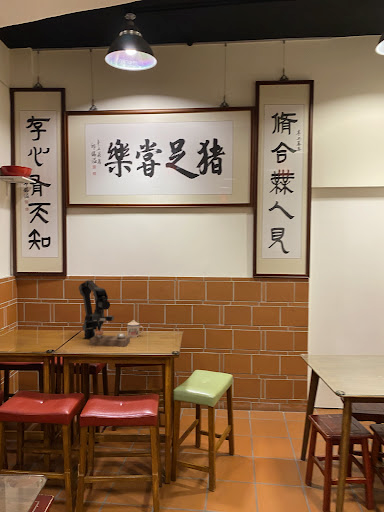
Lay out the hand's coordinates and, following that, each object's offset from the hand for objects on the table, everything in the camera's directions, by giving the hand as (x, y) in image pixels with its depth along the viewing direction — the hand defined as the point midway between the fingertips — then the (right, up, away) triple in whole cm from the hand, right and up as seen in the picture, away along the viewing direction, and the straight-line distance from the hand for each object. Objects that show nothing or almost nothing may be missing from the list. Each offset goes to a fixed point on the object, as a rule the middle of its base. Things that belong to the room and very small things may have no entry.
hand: (99, 330), depth 266 cm
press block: (+7, -9, -1) cm, 11 cm away
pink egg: (0, -6, 0) cm, 6 cm away
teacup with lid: (+21, -8, +22) cm, 32 cm away
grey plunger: (+15, -9, -1) cm, 17 cm away
